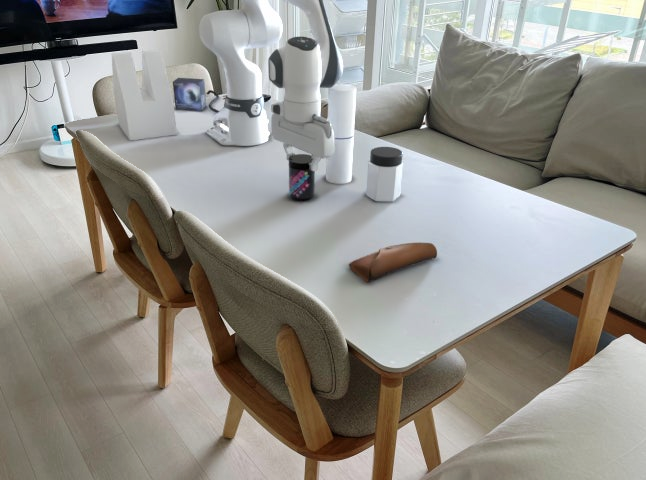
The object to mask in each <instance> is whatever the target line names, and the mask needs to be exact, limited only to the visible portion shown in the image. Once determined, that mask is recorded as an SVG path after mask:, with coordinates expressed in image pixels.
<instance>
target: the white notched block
mask: <svg viewBox="0 0 646 480" xmlns="http://www.w3.org/2000/svg"><path fill="white" fill-rule="evenodd" d="M141 54H142V55H141V59H142V60H141V66H142V67H141V71H142V72H141V87H140V82H139V79H138V75H137V70H136V66H135V62H134V58H133V53H132V52H131V51H126V52H112V53H111V62H112V63H111V67H112V87H113V90H112V91H113V97H114V103H115V109H116V116H117V123H118V125H119V127H120V128H121V130H122V131H123V133H124V134H125V135H126V137H127V138H128V140H129V141H138V140H147V139H155V138H162V137H169V136H176V135H177V136H178V132H177V131H178V130H177V122H176V112H175V101H174V96H173V92H172V89H171V85H170V80H169V77H168V76H169V75H168V72H167V68H166V63H165V59H164V55H163V51H162V50H161V49H154V50H153V49H151V50H142V52H141Z"/></svg>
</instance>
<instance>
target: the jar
mask: <svg viewBox="0 0 646 480" xmlns="http://www.w3.org/2000/svg"><path fill="white" fill-rule="evenodd" d="M403 156H404V153H403V151H402V150H401V149H399V148H397V147H392V146H378V147H374V148H372V149H371V150H370V156H369V161H367V175H366V189H365V191H366V192H365V196H367V197H368V198H370V199H371V200H373V201H375V202H381V203H382V202H384V203H385V202H386V203H387V202H389V203H390V202H391V203H393V202H395V201H396V200H397V199H398V198H399V197H400V196H401V191H402V182H403V171H404V161H403Z"/></svg>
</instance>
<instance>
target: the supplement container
mask: <svg viewBox="0 0 646 480" xmlns="http://www.w3.org/2000/svg"><path fill="white" fill-rule="evenodd" d="M312 160H313V158H312V154H308V153H307V154H306V153H298V154H295V155H292V156H290V157H289V161H288V196H289V198H290V199H291V200H292V201H296V202H308V201H311V200H313V198H314V197H315V191H316V189H315V187H316V183H315V182H316V171H311V170H309V163H312Z"/></svg>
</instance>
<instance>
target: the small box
mask: <svg viewBox="0 0 646 480" xmlns="http://www.w3.org/2000/svg"><path fill="white" fill-rule="evenodd" d="M172 89H173V90H172V91H173V100H174V110H178V111H179V110H180V111H193V112H202V111H204V110H205V109H206V108H207V97H206V86H205V79H204V78H192V77H189V78H188V77H177V78H176V79H174V80H173V81H172Z"/></svg>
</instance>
